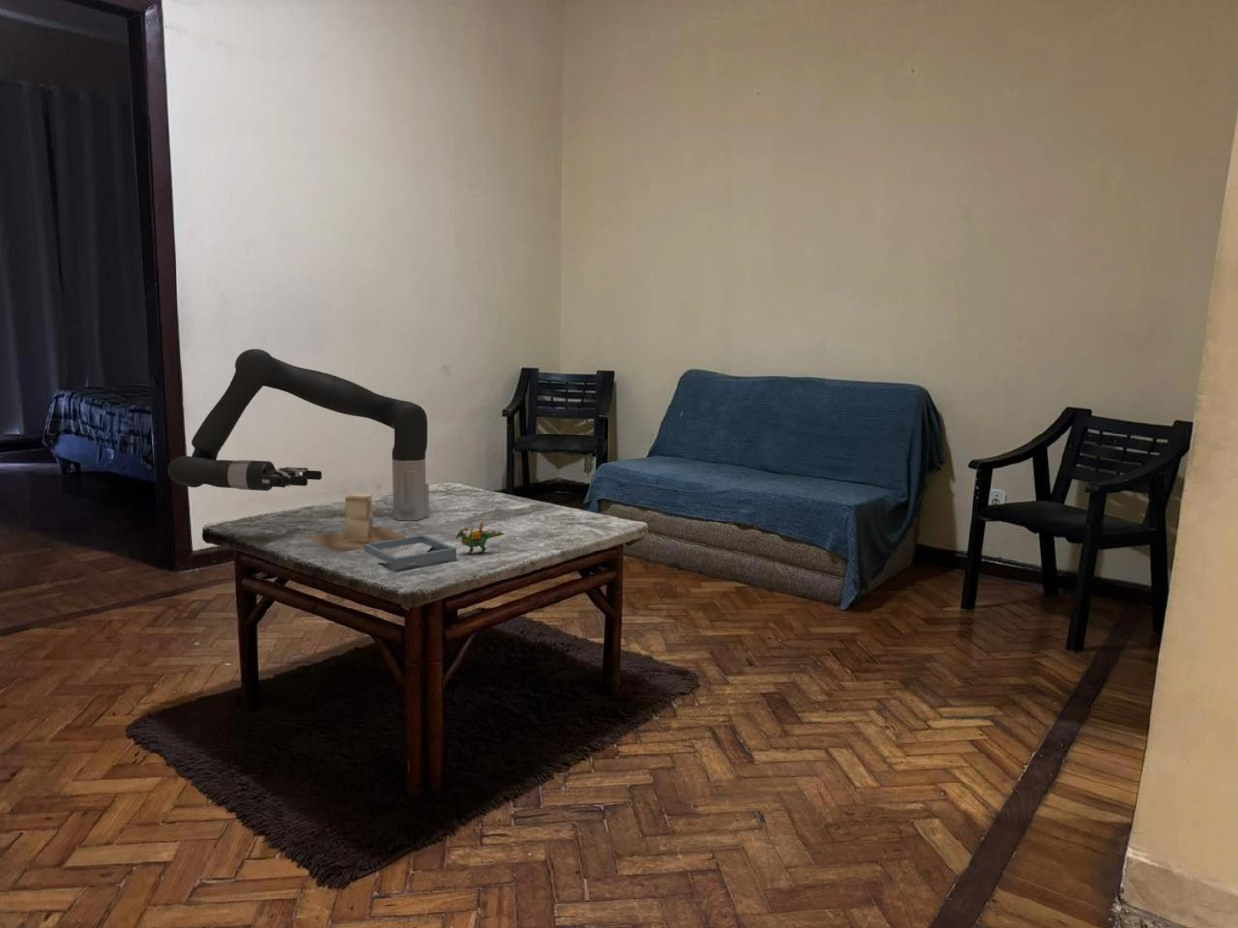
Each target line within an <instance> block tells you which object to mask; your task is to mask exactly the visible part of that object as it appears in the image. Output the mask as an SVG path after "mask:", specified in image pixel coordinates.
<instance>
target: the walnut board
mask: <svg viewBox="0 0 1238 928" xmlns="http://www.w3.org/2000/svg"><path fill="white" fill-rule="evenodd" d="M307 538H308V539H310V540H312V541H313V542H315V543H317V544H319V545H321V546H323V547H325V548H327V549H329V550H330V551H332V552H334V553H343V552H350V551H355V550H356V551H357V550H361V549H364V544H370V543H376V542H382V541H388V540H394V539H400V538H407V537H406V536H404V535H402V534H400V533H398V532H395V531H393V530H390V529H388V528H385V527H383V526H382V525H379V526H373V537H371V538H370V539H369V540H367V541H346V530H344V531H337V532H331V533H325V534H318V535H311V536H307Z"/></svg>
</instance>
